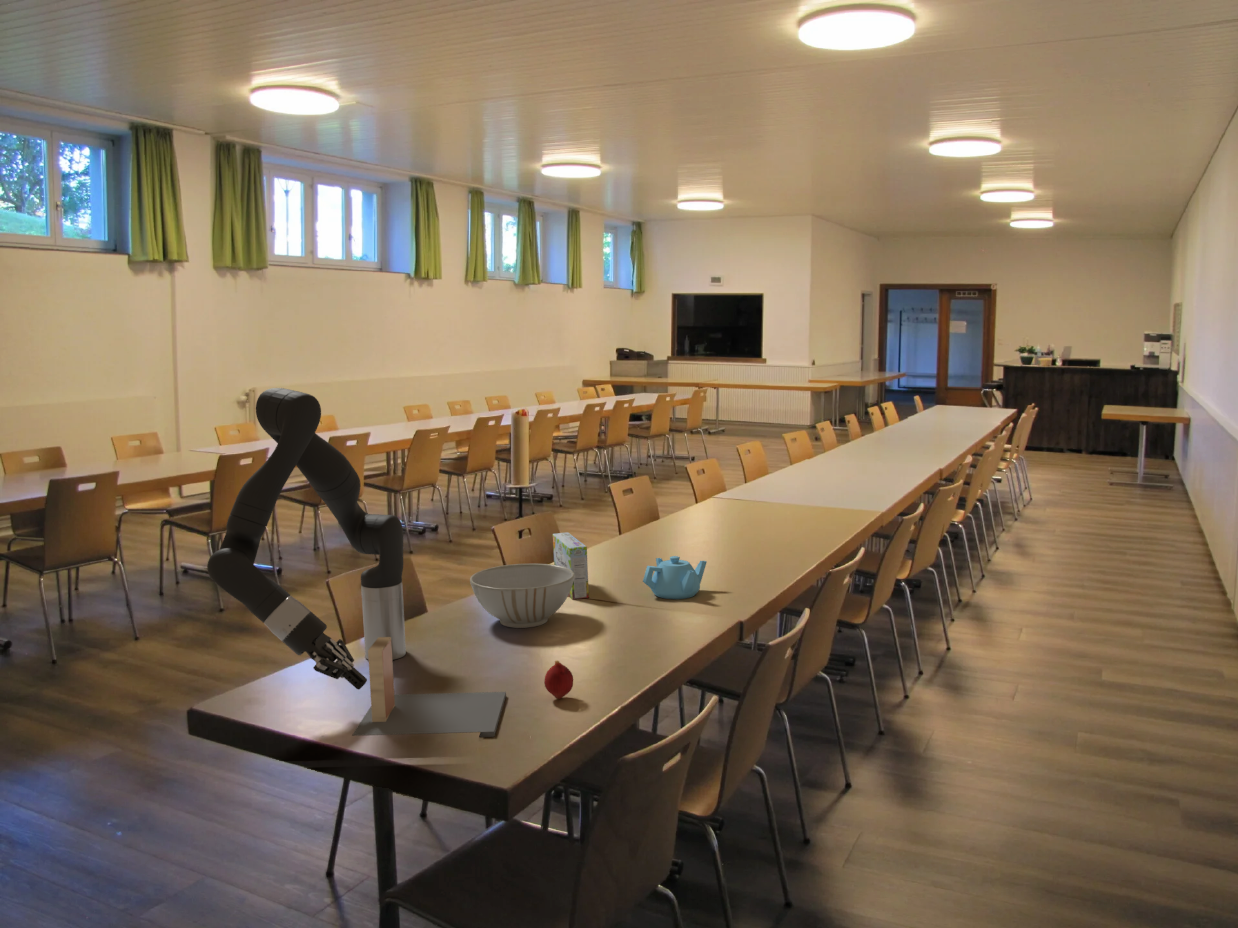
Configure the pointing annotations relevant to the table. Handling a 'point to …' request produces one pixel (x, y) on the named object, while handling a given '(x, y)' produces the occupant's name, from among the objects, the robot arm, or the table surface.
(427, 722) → the mat
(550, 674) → the onion
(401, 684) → the table surface
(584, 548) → the snack box
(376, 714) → the wooden block
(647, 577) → the teapot
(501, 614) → the decorative bowl
